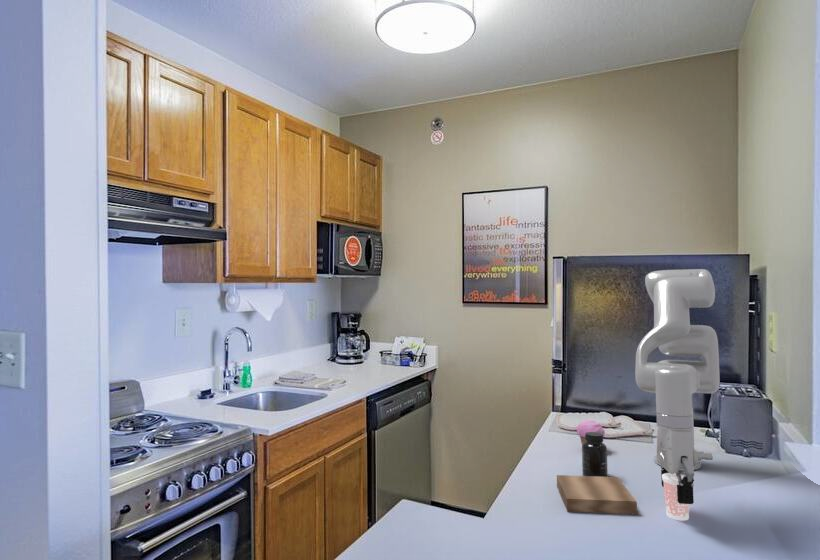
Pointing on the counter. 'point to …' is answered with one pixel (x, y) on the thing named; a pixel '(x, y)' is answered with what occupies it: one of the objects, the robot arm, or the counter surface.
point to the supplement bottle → (594, 455)
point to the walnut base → (595, 494)
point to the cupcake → (589, 429)
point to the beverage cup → (674, 498)
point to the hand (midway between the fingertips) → (676, 494)
